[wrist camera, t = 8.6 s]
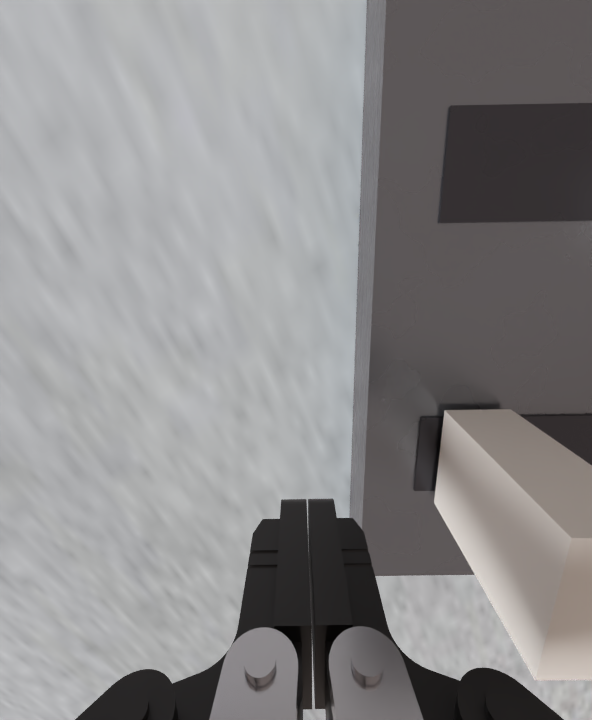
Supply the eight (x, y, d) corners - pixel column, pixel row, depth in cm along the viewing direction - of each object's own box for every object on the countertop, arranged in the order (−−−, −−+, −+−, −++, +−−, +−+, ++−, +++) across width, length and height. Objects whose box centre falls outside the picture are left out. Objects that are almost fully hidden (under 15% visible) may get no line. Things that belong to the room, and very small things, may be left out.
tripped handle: (433, 502, 14) (535, 680, 8) (444, 410, 12) (571, 538, 7) (494, 501, 14) (640, 679, 8) (510, 409, 12) (694, 536, 7)
